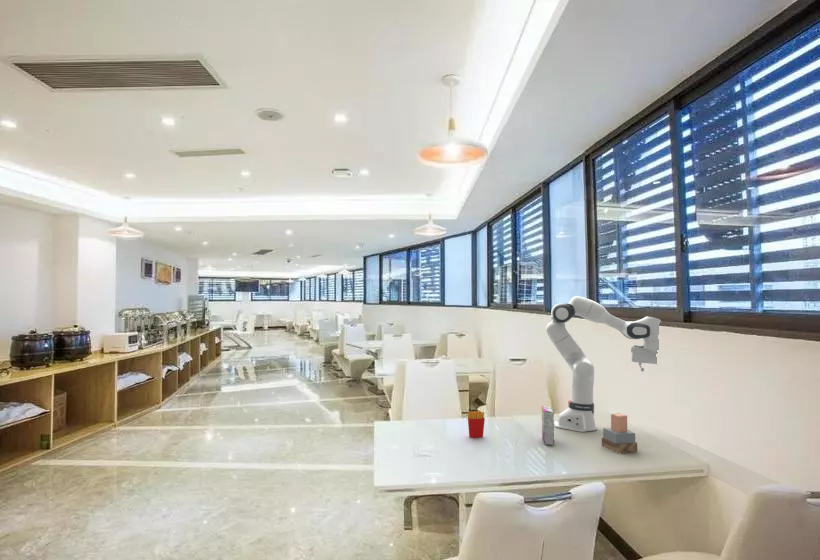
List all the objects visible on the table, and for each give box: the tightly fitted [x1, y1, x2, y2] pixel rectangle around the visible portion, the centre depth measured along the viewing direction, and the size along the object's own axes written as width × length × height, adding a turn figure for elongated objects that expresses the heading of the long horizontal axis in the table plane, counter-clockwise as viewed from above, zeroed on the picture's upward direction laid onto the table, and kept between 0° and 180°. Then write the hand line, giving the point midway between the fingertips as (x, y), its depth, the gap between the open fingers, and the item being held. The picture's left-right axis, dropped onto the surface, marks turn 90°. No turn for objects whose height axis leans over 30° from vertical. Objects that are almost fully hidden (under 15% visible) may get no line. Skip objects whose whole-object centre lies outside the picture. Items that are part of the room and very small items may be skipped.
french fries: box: [466, 410, 485, 439], centre depth 228 cm, size 9×4×13 cm, turn 104°
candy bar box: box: [541, 405, 555, 446], centre depth 221 cm, size 11×5×16 cm, turn 168°
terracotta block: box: [610, 412, 628, 433], centre depth 212 cm, size 5×5×8 cm
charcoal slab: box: [602, 427, 636, 444], centre depth 212 cm, size 10×10×4 cm
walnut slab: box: [601, 436, 638, 454], centre depth 212 cm, size 11×11×4 cm
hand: (652, 372), depth 237 cm, fingers open, 8 cm apart
